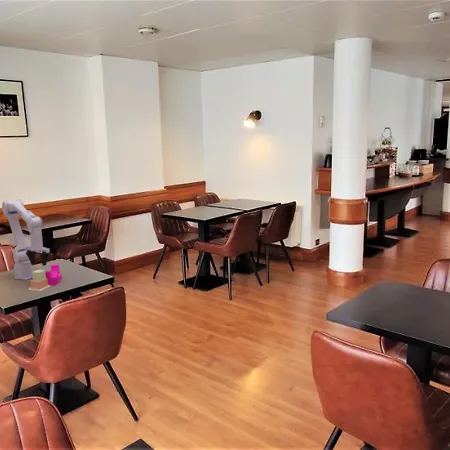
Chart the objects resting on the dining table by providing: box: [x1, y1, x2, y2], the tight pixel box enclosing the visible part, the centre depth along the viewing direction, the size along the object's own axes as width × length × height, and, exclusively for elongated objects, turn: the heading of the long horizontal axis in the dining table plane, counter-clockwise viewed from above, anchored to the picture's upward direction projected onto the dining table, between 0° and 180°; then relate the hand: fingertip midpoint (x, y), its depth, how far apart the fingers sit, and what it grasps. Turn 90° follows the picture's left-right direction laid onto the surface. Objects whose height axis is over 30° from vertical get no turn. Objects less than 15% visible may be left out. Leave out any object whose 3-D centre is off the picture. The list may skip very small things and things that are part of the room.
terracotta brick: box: [29, 278, 48, 289], centre depth 237 cm, size 6×6×4 cm
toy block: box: [45, 263, 63, 287], centre depth 248 cm, size 15×6×8 cm, turn 2°
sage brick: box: [32, 269, 46, 281], centre depth 236 cm, size 4×4×4 cm
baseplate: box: [27, 285, 52, 292], centre depth 237 cm, size 8×8×1 cm
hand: (38, 264), depth 243 cm, fingers open, 7 cm apart
